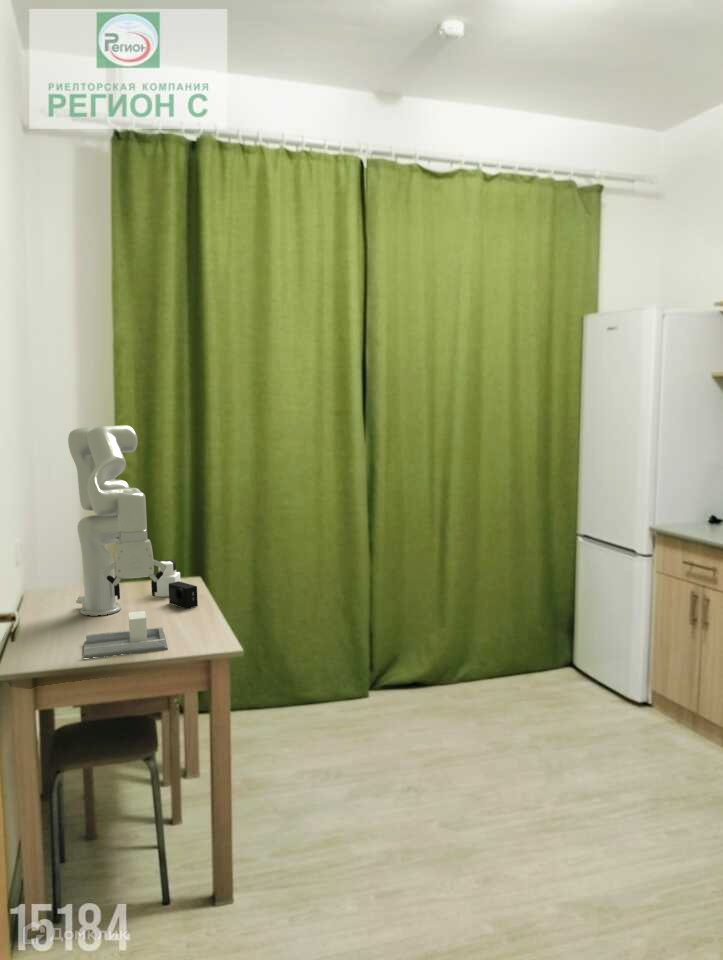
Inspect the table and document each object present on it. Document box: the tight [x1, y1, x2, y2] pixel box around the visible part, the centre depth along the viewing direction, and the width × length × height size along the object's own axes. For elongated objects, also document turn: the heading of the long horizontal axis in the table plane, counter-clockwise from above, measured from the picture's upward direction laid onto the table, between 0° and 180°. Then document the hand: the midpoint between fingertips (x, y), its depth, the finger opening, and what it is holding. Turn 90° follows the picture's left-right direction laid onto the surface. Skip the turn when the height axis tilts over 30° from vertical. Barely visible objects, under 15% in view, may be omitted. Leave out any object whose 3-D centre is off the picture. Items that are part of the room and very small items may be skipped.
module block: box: [128, 610, 148, 642], centre depth 213 cm, size 4×7×8 cm, turn 18°
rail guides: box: [85, 626, 166, 656], centre depth 212 cm, size 21×12×2 cm, turn 108°
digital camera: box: [168, 581, 199, 609], centre depth 252 cm, size 10×5×7 cm, turn 48°
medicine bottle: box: [155, 559, 182, 598], centre depth 266 cm, size 7×7×12 cm
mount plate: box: [82, 633, 169, 659], centre depth 212 cm, size 22×14×1 cm, turn 108°
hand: (136, 596), depth 212 cm, fingers open, 9 cm apart
